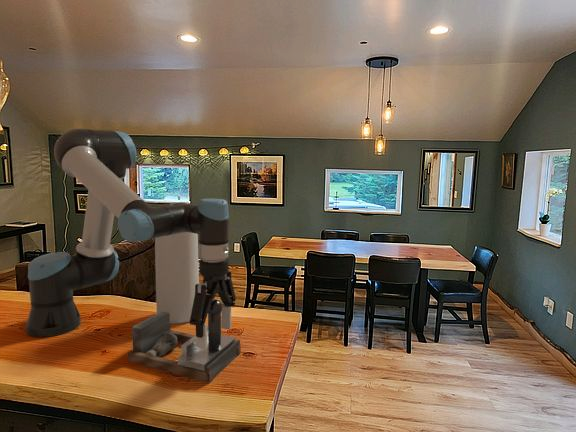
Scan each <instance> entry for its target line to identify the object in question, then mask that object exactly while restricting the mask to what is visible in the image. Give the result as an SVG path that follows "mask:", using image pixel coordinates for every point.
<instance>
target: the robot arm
mask: <svg viewBox="0 0 576 432" xmlns="http://www.w3.org/2000/svg"><path fill="white" fill-rule="evenodd" d="M53 155H54V160H55V162H56V164H57V165H58V167H59V168H60V169H61V170H62V171H63V172H64V173H65V174H66V175H67V176H69V177H72V178H75V179H77V181H79V182H80V183H81V184H82V185H83V187H85V188H86V189H87V190H88V192H87V197H86V206H85V215H84V222H83V229H82V237H81V242H79V243H78V244H76V246H75V253H73V254H71V253H69V252H66V251H57V252H51V253H46V254H42V255H40V256H37V257H35V258H33V260H31V261H30V262H29V264H28V265H27V266H28V267H27V268H28V269H27V270H28V272H27V278H28V285H29V297H30V299H29V300H30V310H29V314H28V318H27V321H26V324H25V330H26V334H27V335H29V336H31V337H35V338H37V337H38V338H45V337H46V338H47V337H53V336H54V337H55V336H58V335H63V334H65V333H69V332H72V331H73V330H75V329H77V328H78V327H79V326H80V325H81V323H82V321H81V320H82V319H81V318H82V317H81V314H80V312H79V310H78V307H77V306H76V303H75V302H74V291H76V290H81V289H84V288H88V287H93V286H94V285H101V284H104V283H106V282H108V281H111V280H113V279H114V278H115V277H116V275H117V274H118V272H119V269H120V260H119V256H118V253H117V251H116V250H115V248H114V247H113V245H112V244H111V239H112V234H113V227H114V220H115V219H114V218H115V217H116V218H117V219H118V220H117V228H118V232H120V236H121V238H122V239H124V240H125V241H127V242H130V243H131V242H143V241H147V240H153V239H155V238H158V237H162V236H168V235H173V234H178V233H183V232H190V233H196V234H198V259H200V260H198V264H199V275H201V276H202V283H199V284H196V285H195V297H194V302H193V307H192V312H191V317H190V321H189V325H191V326H195V335H196V347H197V348H201V349H207V327H208V323H206V320H207V319H208V311H209V308H210V305H211V302H212V300H214V299H215V298H216V295H217V294H218V297H219V299H220V302H221V303H222V307H223V308H222V311H221V330H222V329H223V330H227V331H231V330H232V307H235V306H236V300H237V299H236V293H235V289H234V284H233V281H232V271H230V270H229V269H230V262H229V259H228V257H229V251H230V248H229V226H230V225H229V224H230V223H229V222H230V220H229V219H230V214H229V203H228V201H227V200H226V199H223V198H202V199H200V200H199V201H198V204H190V203H187V202H182V201H181V202H171V203H170V204H168V205H165V206H156V207H155V206H154V207H153V206H151V205H150V204H149V203H147V202H146V201H145V200H144V199H143V198H142V197H141V196H139V194H137V193H136V192H135V191H134V190H133V189H132V188H131V187H130V186H129V185H127V184H126V183H125V182H124V181H123V179H124V178H125V177H126V175H127V170H128V169H131V168H133V167H134V166H135V164H136V162H137V158H138V157H137V148H136V145H135V143H134V141H133V139H132V138H131V137H130V136H129V135H128V134H127V133H126V132H123V131H116V130H114V129H111V130H109V129H108V130H107V129H88V128H87V129H86V128H74V129H69V130H68V131H65V132H63V133H62V134H61V135H60V136H59V137H58V139H56V142H55V144H54V147H53Z"/></svg>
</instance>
